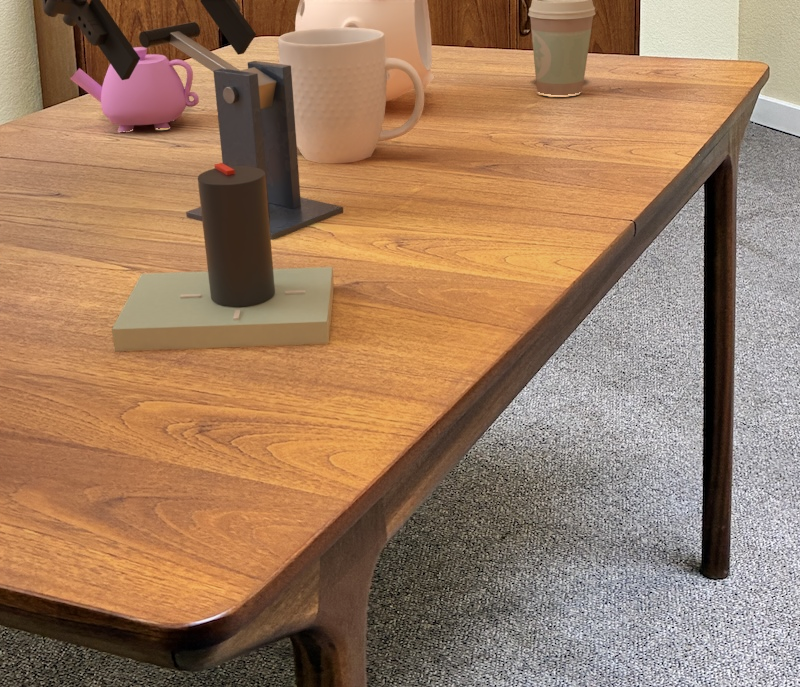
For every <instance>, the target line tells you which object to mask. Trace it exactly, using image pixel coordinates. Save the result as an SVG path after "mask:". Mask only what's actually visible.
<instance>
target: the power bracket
mask: <svg viewBox="0 0 800 687" xmlns="http://www.w3.org/2000/svg"><path fill="white" fill-rule="evenodd" d="M253 67H255V68H256V69H258V70H260V71H261V72H263V73H264V74H266V75H267V76H269V77H271V78H272V79H274V80H275V81H276V87H275V93H274V98H273V103H272V106H271V107H267V108H263V109H261V108H260V96H259V84H258V74H257V73H250V72H243V71H236V70H229V69H217V70H214V71H212V72H213V82H214V91H215V101H216V111H217V120H218V130H219V141H220V150H221V160H222V161H221V163H223V164H225V165H227V166H228V167H229V166H249V167H255V168H259V169H261V170H263V171H264V172H265V179H266V191H267V203H268V214H269V226H270V238H271V241H274V240H277V239H279V238H282V237H284V236H287V235H289V234H291V233H292V234H293V233H294V232H297V231H300V230H302V229H305V228H307V227H310V226H313V225H315V224H318V223H320V222H322V221H326V220H327V219H331V218H332V217H335V216H338V215H341V214H343V213H344V207H343V206H340V205H336V204H333V203H332V204H331V203H327V202H324V201H319V200H314V199H309V198H306V197H301V187H300V173H299V159H298V147H297V143H296V129H295V115H294V101H293V87H292V73H291V66H290V65H283V64H279V63H276V62H267V61H259V60H253V61H248V62H247V69H249V68H253ZM185 213H186V218H188V219H192V220H196V221H199V222H202V213H201V206H199V207H196V208H194V209H191V210H187V211H186V212H185Z"/></svg>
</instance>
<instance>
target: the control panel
mask: <svg viewBox="0 0 800 687" xmlns="http://www.w3.org/2000/svg"><path fill="white" fill-rule="evenodd" d="M273 273H274V285H275V294H274V296H273V297H272V298H271V299H269V300H267V301H265V302H263V303H260V304H256V305H252V306H244V307H230V306H223V305H219V304H217V303H215V302H213V301H212V299H211V294H210V285H209V276H208V270H206V271H205V270H202V271H179V272H177V271H174V272H151V273H150V272H149V273H147V272H146V273H141V274H140V276H139V278H138V279H137V281H136V283H135V285H134V287H133V288H132V291H131V293H130V294H129V296H128V298H127V300H126V302H125V304H124V305H123V307H122V309H121V311H120V312H119V315H118V316H117V318H116V320H115V322H114V324H113V326H112V327H111V334H112V342H113V347H114V352H132V351H133V352H135V351H138V352H139V351H158V350H159V351H161V350H184V349H185V350H188V349H189V350H190V349H191V350H193V349H194V350H195V349H215V348H216V349H218V348H220V349H221V348H244V347H272V346H273V347H274V346H275V347H276V346H303V345H305V346H306V345H326V344H327V345H328V344H329V343H330V332H331V323H332V322H331V321H332V311H333V302H334V301H333V300H334V292H335V291H334V289H335V281H334V280H335V279H334V267H333V266H321V267H320V266H319V267H314V266H313V267H292V268H291V267H289V268H286V267H285V268H273Z"/></svg>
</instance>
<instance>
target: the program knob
mask: <svg viewBox="0 0 800 687" xmlns="http://www.w3.org/2000/svg"><path fill="white" fill-rule="evenodd" d="M197 185H198V193H199V194H198V195H199V203H200V207H201V213H202V221H201V222H202V229H203V231H202V232H203V239H204V248H205V256H206V257H205V258H206V266H207V271H208V276H209V285H210V294H211V299H212V301H213V302H215V303H217V304H219V305H223V306H230V307H244V306H252V305H256V304H260V303H263V302H265V301H267V300H269V299H271V298H272V297H273V296H274V294H275V285H274V273H273V269H274V263H273V251H272V242H271V241H272V240H271V238H270V226H269V214H268V203H267V191H266V179H265V172H264V171H263V170H261V169H259V168H255V167H249V166H229V167H228V166H227V165H225V164H223V162H218V163H214V168H213V169H208V170H206V171H203V172H201V173H199V175H198V176H197Z"/></svg>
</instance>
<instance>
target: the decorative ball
mask: <svg viewBox="0 0 800 687" xmlns="http://www.w3.org/2000/svg"><path fill="white" fill-rule="evenodd" d="M294 21H295V22H294V23H295V24H294V26H295V27H294V31H300V30H308V29H319V28H340V27H349V28H366V29H374V30H378V31H381V32H383V33H384V35H385V52H386V57H387V58H397V59H400V60H403V61H405V62H407V63H409V64H410V65H411V66H412V67H413V68H414V69H415V70H416V71H417V73H418V75H419V77H420V79H421V81H422V84H423V89H424V90H425V89H426V88H427V86H428V85H430V83H431V82H432V81H433V79H434V78H435V75H434V74H433V73H432V63H433V43H432V42H433V41H432V30H431V18H430V11H429V2H428V0H299V2H298V5H297V9H296V14H295V20H294ZM386 75H387V79H386V80H387V85H386V88H387V90H386V103H387V102H390V101H393V100H395V99H398V98H401V97H402V96H404V95H405V94H408V93H409V92H410V91H412V90H413V89H415V88H414V85H413V82H412V80H411V79H410V77H409V76H408V74H406V73H405V72H404V71H402V70H400V69H391V70H387V71H386Z"/></svg>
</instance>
